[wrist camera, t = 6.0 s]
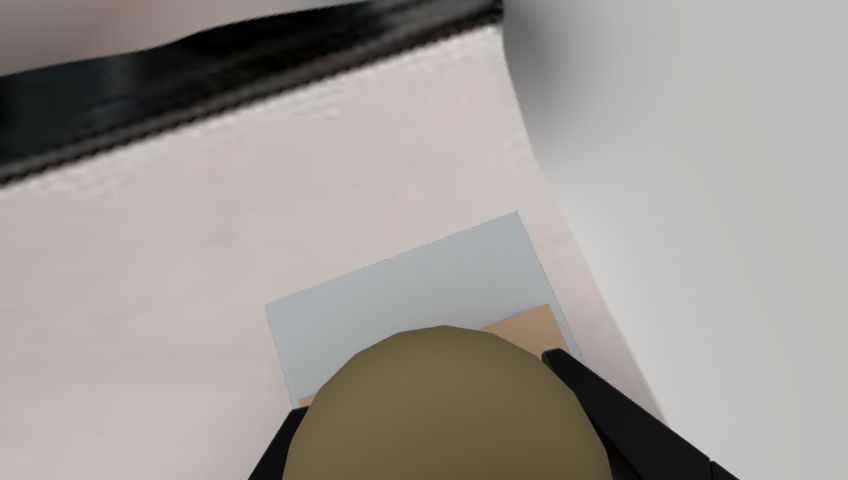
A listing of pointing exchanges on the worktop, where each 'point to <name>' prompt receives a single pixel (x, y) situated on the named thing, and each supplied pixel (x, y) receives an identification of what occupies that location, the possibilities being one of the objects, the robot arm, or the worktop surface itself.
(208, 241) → the worktop surface
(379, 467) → the olive pepper mill
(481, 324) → the ridge board
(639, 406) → the robot arm
